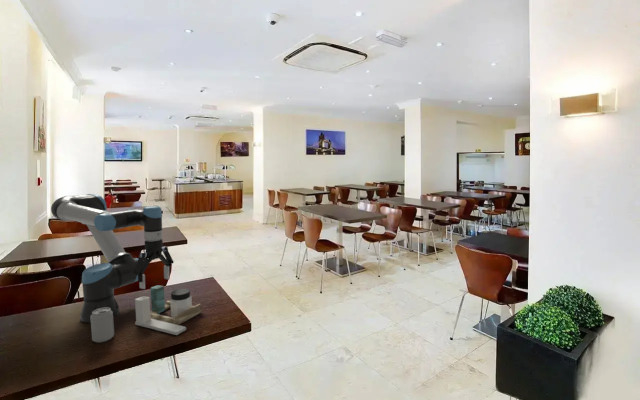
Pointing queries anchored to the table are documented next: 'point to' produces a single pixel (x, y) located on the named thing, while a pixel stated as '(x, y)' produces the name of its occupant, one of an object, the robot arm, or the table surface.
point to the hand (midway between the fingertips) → (155, 283)
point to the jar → (180, 301)
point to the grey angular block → (145, 319)
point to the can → (102, 324)
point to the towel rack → (160, 306)
